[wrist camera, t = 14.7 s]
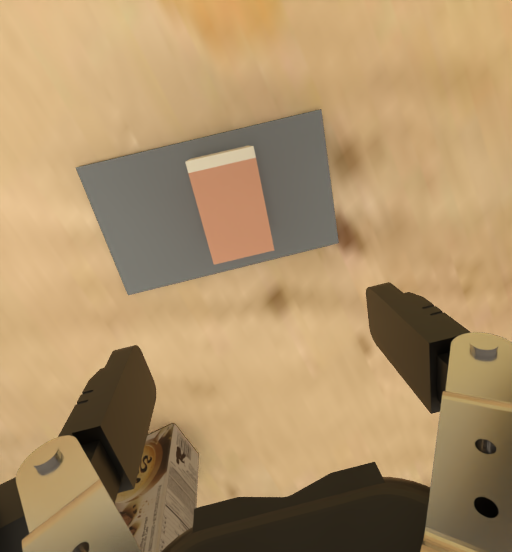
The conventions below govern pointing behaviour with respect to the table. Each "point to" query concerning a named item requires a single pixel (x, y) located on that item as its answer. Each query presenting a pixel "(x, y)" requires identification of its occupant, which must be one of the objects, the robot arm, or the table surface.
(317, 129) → the mat
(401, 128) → the table surface
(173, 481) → the brown food box
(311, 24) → the table surface
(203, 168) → the block
